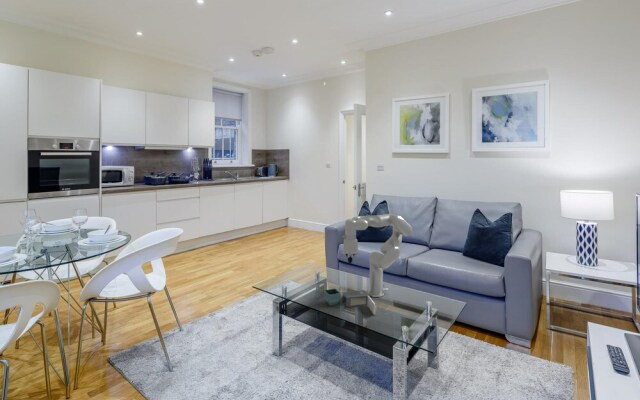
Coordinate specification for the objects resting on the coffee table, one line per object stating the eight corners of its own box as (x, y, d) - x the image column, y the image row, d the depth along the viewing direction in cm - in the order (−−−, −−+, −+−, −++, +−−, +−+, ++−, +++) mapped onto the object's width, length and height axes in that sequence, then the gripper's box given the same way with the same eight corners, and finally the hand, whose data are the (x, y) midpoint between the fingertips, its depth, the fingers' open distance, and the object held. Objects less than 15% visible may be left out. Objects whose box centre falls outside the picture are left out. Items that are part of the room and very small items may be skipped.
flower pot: (323, 302, 242) (323, 290, 241) (335, 300, 246) (335, 288, 244) (328, 307, 234) (329, 295, 233) (340, 305, 238) (340, 293, 236)
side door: (367, 305, 238) (367, 295, 237) (369, 305, 238) (370, 295, 237) (373, 314, 224) (374, 304, 223) (376, 314, 225) (376, 304, 224)
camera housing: (363, 299, 247) (364, 289, 246) (368, 305, 239) (368, 294, 237) (340, 301, 243) (341, 291, 242) (344, 307, 235) (344, 297, 233)
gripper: (340, 238, 237) (340, 264, 240) (362, 238, 238) (361, 264, 241) (339, 236, 244) (338, 261, 247) (360, 235, 245) (359, 260, 248)
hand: (349, 262), depth 244 cm, fingers closed
